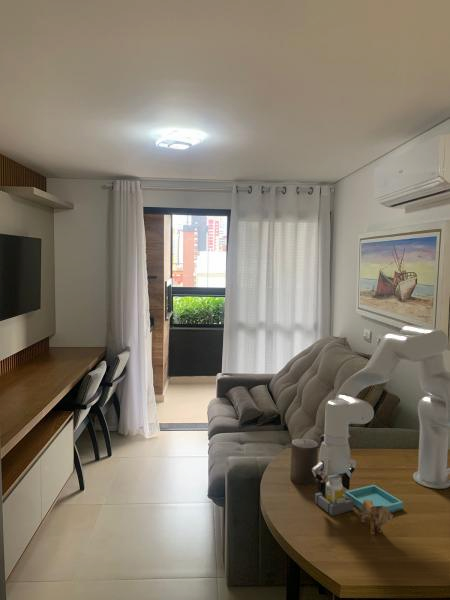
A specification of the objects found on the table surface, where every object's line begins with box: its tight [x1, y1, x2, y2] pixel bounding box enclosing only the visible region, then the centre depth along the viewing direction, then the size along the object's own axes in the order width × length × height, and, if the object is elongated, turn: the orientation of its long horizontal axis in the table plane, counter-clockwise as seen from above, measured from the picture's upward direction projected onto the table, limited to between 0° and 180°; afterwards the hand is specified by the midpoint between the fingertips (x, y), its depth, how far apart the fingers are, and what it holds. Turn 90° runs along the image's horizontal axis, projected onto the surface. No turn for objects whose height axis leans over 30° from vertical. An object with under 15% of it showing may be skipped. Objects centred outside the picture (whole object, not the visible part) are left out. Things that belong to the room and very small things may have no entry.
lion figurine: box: [357, 499, 394, 535], centre depth 135 cm, size 15×5×9 cm, turn 16°
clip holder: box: [314, 492, 355, 517], centre depth 146 cm, size 9×9×4 cm
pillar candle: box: [289, 438, 319, 486], centre depth 165 cm, size 10×10×15 cm
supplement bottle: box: [325, 474, 344, 504], centre depth 146 cm, size 5×5×10 cm
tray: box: [344, 484, 404, 514], centre depth 148 cm, size 13×13×2 cm
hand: (333, 490), depth 146 cm, fingers open, 9 cm apart
